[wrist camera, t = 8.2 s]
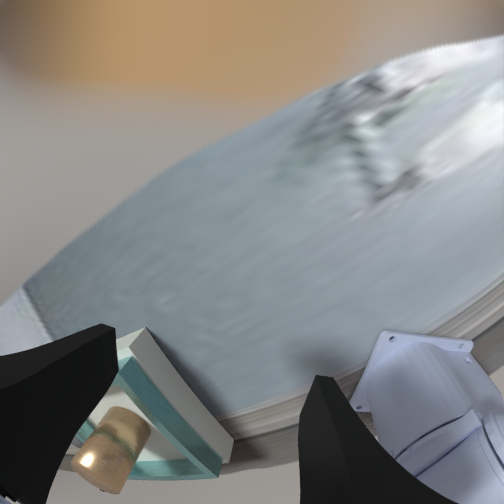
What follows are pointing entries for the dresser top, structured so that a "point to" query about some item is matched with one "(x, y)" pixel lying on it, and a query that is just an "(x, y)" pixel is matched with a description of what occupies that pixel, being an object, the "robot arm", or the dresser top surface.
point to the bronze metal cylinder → (112, 449)
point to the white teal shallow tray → (173, 390)
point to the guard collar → (162, 431)
